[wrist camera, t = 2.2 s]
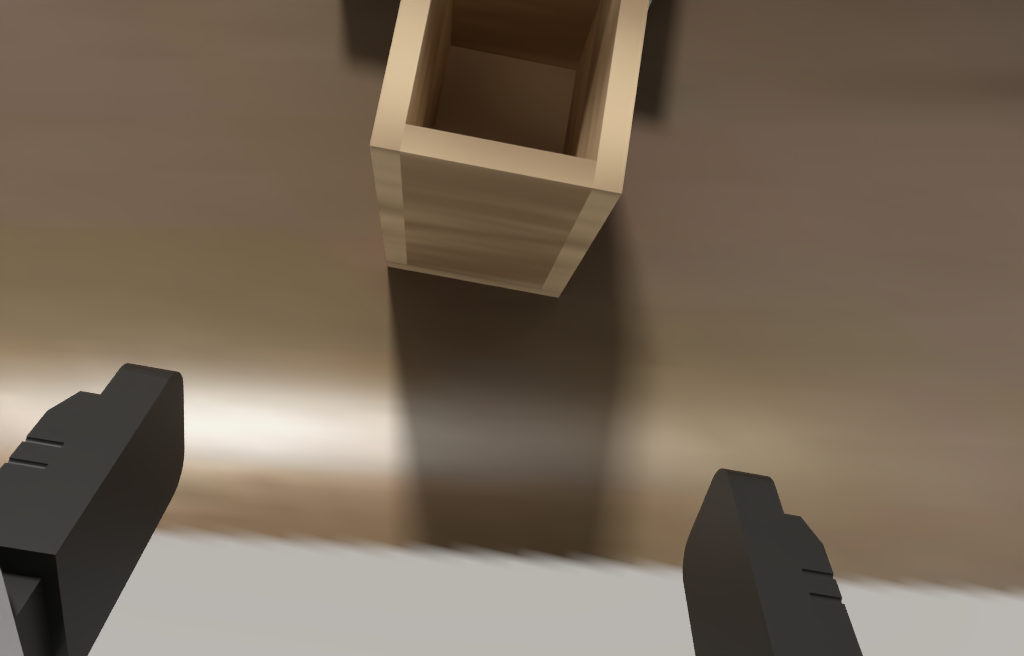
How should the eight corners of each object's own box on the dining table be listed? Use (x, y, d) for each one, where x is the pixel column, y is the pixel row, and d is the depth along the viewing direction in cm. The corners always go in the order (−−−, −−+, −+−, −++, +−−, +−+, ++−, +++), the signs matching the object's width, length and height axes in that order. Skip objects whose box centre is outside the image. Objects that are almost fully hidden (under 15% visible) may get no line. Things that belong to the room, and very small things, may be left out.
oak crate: (558, 297, 30) (622, 193, 21) (387, 266, 30) (370, 145, 20) (593, 66, 32) (667, -128, 23) (434, 34, 32) (439, -177, 22)
